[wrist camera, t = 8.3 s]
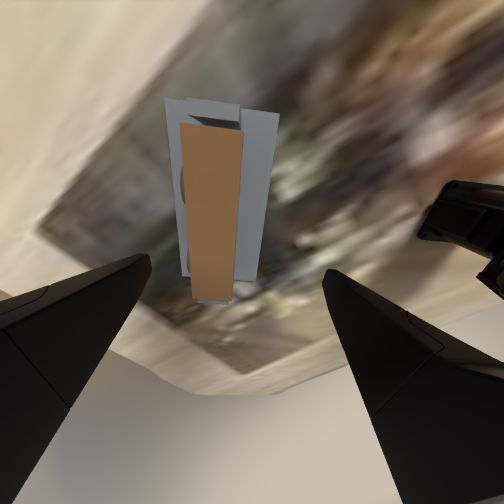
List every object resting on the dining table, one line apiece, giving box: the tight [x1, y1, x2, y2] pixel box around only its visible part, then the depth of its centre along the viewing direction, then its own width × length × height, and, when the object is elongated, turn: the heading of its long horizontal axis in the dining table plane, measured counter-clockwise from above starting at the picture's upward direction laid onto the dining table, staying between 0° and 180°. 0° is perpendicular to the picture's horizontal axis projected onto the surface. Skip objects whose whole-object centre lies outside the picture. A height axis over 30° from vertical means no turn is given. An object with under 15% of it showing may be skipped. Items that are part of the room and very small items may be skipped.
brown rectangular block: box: [179, 122, 244, 301], centre depth 15 cm, size 13×4×3 cm, turn 174°
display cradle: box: [165, 97, 280, 305], centre depth 17 cm, size 9×17×6 cm, turn 174°
